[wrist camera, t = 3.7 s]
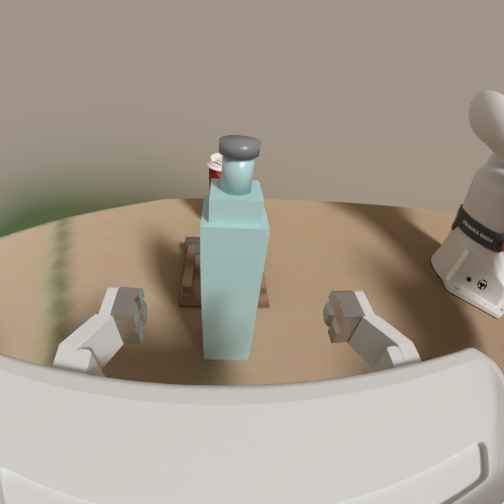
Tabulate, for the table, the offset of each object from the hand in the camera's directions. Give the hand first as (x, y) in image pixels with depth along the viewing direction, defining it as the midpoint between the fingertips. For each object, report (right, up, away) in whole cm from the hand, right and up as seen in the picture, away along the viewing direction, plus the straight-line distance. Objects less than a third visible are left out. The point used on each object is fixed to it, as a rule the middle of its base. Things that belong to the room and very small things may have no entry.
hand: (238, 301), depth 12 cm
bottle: (-3, -9, +22) cm, 24 cm away
